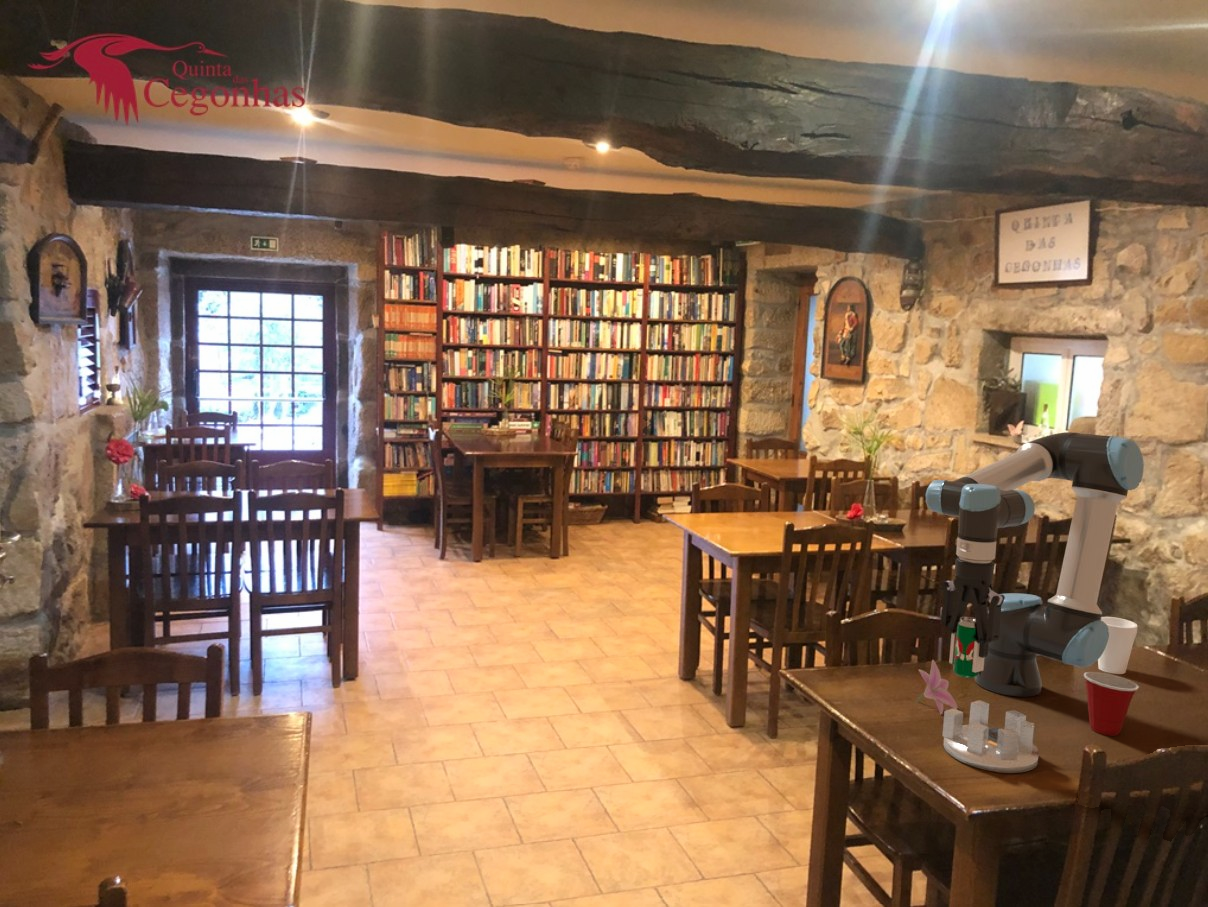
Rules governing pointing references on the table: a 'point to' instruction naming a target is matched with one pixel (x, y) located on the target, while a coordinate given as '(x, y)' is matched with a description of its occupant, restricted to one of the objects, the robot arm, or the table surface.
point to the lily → (937, 688)
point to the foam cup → (1117, 645)
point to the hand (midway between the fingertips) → (966, 666)
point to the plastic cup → (1108, 701)
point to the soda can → (965, 647)
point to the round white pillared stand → (990, 740)
